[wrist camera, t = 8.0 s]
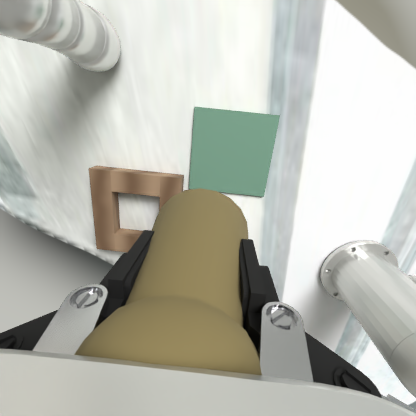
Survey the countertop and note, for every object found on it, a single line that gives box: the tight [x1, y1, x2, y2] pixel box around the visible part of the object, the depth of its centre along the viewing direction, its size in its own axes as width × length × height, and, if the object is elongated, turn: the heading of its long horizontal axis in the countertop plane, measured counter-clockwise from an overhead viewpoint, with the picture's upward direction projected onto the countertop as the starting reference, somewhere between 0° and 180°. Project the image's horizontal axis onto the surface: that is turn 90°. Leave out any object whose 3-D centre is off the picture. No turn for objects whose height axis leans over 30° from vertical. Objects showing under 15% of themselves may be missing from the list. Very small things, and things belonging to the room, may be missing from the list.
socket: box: [89, 166, 184, 252], centre depth 37 cm, size 14×14×2 cm
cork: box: [74, 188, 262, 375], centre depth 9 cm, size 6×6×11 cm
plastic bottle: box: [0, 0, 121, 72], centre depth 20 cm, size 6×7×20 cm
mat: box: [189, 107, 280, 197], centre depth 33 cm, size 12×12×1 cm
